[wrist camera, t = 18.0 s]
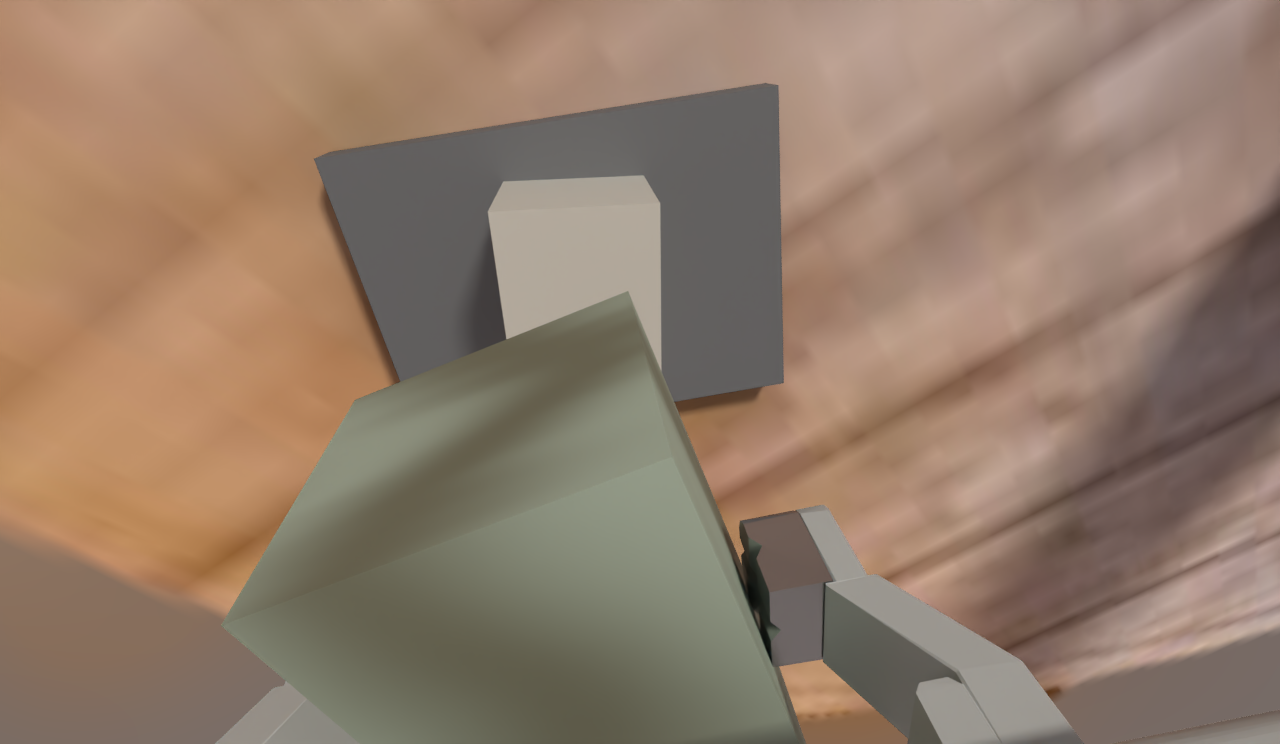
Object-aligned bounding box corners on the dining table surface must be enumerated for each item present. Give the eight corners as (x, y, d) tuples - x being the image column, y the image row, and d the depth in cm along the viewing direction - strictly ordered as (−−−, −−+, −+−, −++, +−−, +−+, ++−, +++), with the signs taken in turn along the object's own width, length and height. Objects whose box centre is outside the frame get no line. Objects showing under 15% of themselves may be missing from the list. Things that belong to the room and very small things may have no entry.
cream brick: (643, 175, 21) (660, 203, 17) (647, 370, 25) (661, 429, 21) (503, 181, 21) (487, 211, 17) (529, 378, 25) (521, 440, 21)
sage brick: (627, 290, 10) (671, 456, 6) (753, 593, 14) (830, 815, 10) (354, 399, 10) (220, 625, 6) (553, 663, 14) (549, 905, 10)
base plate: (765, 83, 22) (778, 85, 20) (773, 367, 27) (783, 383, 26) (329, 152, 21) (314, 158, 20) (431, 425, 27) (424, 444, 26)
